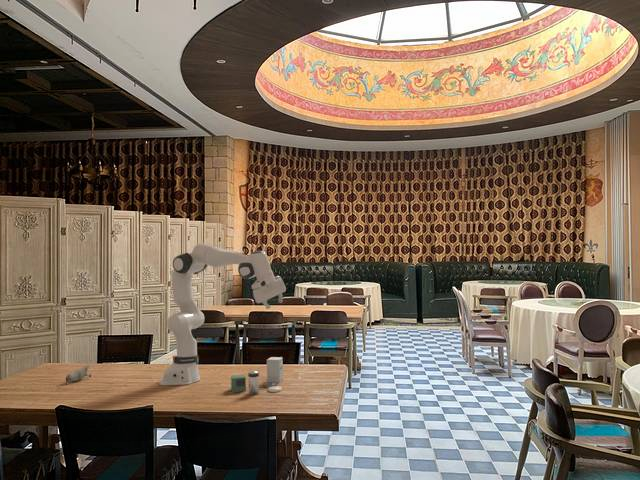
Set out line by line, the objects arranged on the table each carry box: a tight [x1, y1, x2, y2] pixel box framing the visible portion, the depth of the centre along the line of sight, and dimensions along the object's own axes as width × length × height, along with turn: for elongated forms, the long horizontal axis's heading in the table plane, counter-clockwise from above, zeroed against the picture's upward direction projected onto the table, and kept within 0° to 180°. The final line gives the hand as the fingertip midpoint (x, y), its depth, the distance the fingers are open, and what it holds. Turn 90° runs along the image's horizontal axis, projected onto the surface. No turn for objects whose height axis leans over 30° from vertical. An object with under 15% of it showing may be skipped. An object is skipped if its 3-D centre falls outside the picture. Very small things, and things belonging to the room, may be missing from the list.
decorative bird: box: [65, 365, 92, 384], centre depth 290 cm, size 5×16×7 cm, turn 159°
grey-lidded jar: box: [247, 369, 260, 396], centre depth 257 cm, size 5×5×11 cm
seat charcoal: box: [263, 381, 278, 389], centre depth 270 cm, size 7×7×1 cm
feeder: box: [230, 374, 247, 393], centre depth 263 cm, size 7×7×7 cm
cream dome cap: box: [267, 385, 283, 393], centre depth 261 cm, size 7×7×1 cm
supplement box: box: [266, 356, 284, 384], centre depth 279 cm, size 7×7×13 cm
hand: (274, 305), depth 263 cm, fingers open, 8 cm apart
